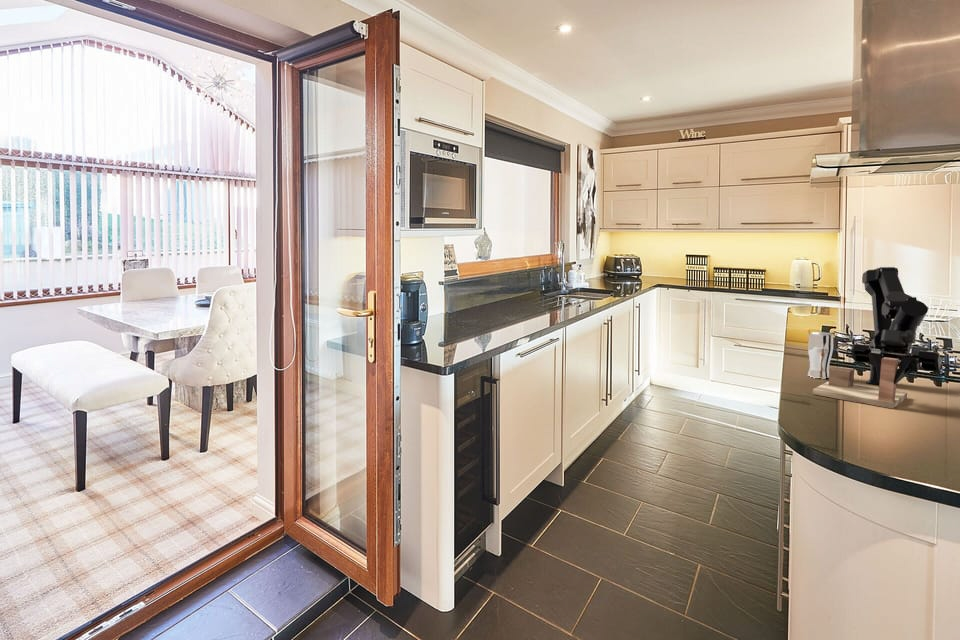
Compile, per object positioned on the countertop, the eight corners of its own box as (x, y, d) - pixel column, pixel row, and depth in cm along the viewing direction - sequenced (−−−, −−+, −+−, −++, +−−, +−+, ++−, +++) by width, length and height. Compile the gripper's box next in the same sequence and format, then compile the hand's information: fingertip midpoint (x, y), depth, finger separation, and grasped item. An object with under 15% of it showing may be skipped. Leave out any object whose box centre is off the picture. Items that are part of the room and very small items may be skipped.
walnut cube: (833, 382, 156) (835, 366, 155) (853, 385, 152) (854, 369, 152) (828, 385, 153) (829, 369, 152) (848, 388, 149) (849, 371, 148)
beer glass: (835, 379, 165) (838, 335, 163) (811, 379, 166) (814, 334, 164) (825, 374, 172) (828, 331, 170) (802, 374, 173) (805, 331, 171)
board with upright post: (829, 384, 158) (832, 344, 157) (906, 397, 144) (911, 353, 142) (812, 394, 149) (815, 351, 147) (893, 408, 134) (897, 361, 133)
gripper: (855, 316, 144) (840, 359, 138) (943, 321, 129) (929, 370, 124) (861, 339, 150) (847, 381, 144) (945, 347, 135) (933, 395, 130)
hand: (886, 381), depth 135 cm, fingers closed on board with upright post, 3 cm apart
